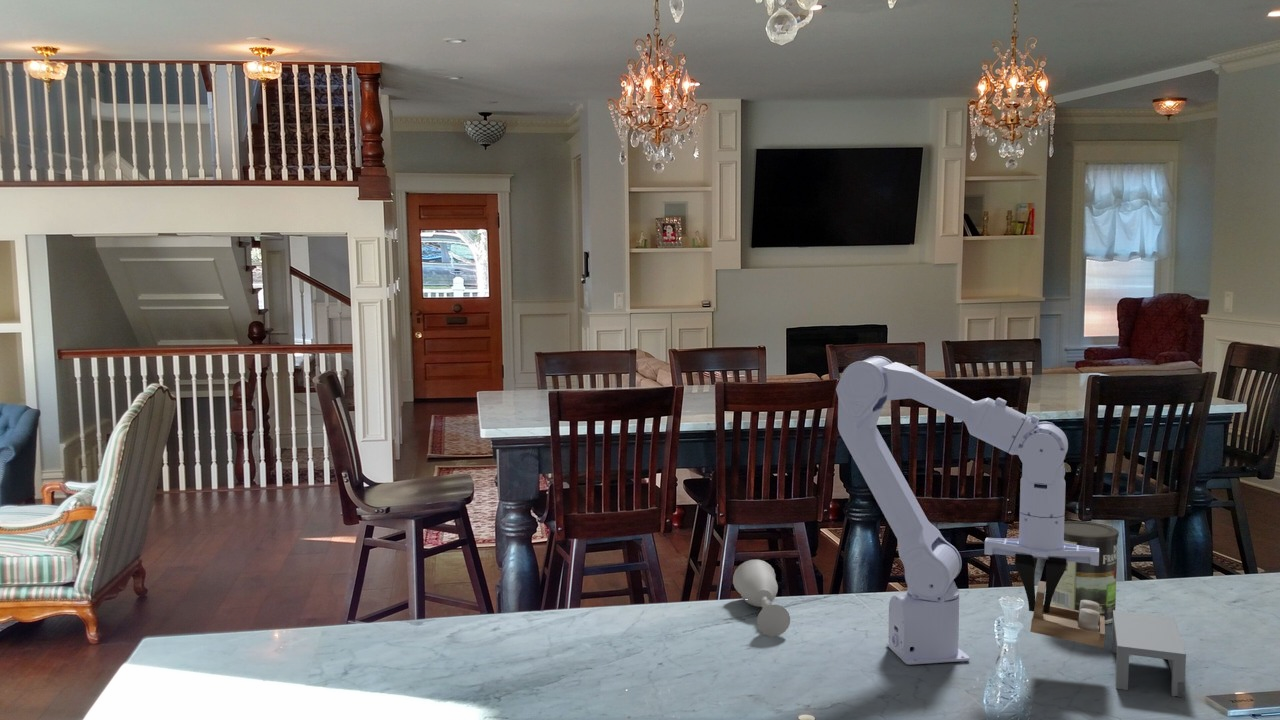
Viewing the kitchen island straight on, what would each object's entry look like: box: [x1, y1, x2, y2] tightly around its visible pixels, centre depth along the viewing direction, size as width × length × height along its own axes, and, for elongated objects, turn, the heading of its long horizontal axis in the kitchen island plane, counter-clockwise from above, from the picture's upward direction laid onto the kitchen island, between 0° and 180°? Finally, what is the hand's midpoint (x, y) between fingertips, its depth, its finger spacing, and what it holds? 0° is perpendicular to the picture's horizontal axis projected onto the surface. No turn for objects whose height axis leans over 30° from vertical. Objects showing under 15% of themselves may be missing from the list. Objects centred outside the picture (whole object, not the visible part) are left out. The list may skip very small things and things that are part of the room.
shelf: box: [1111, 609, 1187, 698], centre depth 140 cm, size 8×15×6 cm, turn 157°
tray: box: [1029, 580, 1106, 648], centre depth 139 cm, size 9×8×5 cm
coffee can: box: [1050, 520, 1120, 625], centre depth 163 cm, size 10×10×14 cm
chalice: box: [732, 559, 791, 637], centre depth 164 cm, size 7×7×18 cm
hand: (1039, 609), depth 141 cm, fingers closed on tray
